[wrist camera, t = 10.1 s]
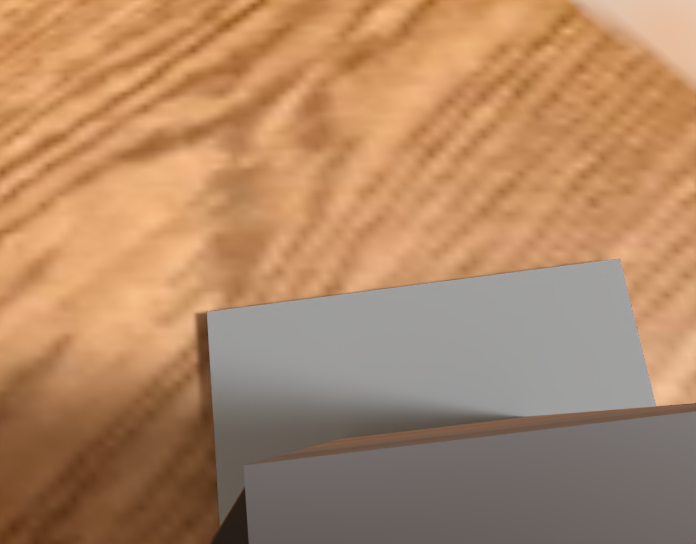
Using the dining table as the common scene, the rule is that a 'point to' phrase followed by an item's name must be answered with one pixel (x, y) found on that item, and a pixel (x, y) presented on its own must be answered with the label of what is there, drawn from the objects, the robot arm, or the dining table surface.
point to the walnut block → (488, 483)
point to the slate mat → (420, 361)
